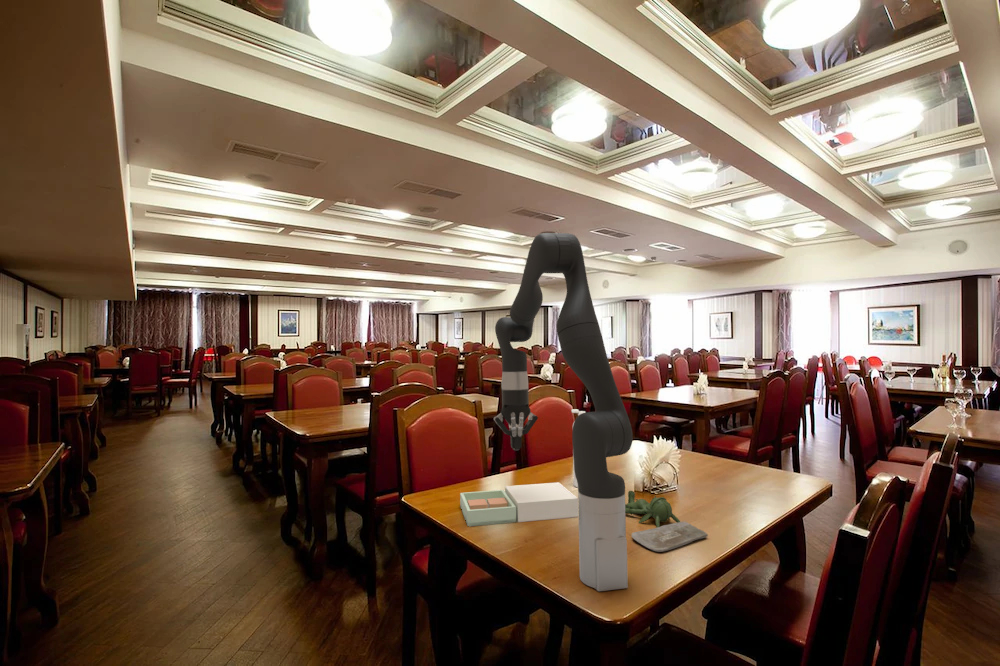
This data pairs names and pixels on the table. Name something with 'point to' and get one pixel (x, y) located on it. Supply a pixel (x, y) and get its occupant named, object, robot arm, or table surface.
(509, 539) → the table surface
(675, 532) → the stone
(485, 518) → the box
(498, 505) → the tile
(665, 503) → the figurine
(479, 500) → the tile
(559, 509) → the raised plate
